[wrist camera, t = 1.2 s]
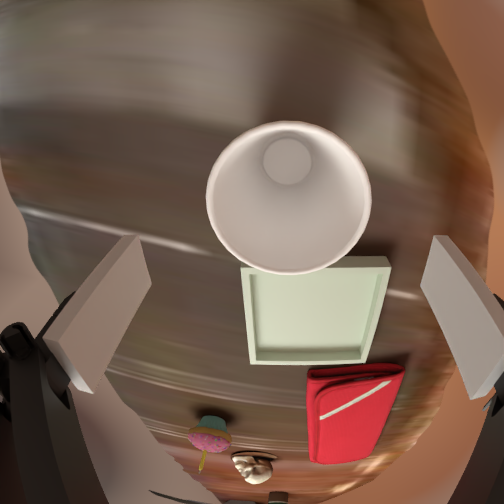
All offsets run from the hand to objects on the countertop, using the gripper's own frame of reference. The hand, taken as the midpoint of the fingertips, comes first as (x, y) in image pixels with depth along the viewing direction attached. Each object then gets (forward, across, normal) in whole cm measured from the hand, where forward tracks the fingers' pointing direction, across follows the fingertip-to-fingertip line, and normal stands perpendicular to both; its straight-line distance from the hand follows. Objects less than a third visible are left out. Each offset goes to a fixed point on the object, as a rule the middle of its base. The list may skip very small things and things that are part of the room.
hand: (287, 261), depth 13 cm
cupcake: (+17, -14, -49) cm, 53 cm away
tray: (+16, +3, -18) cm, 24 cm away
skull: (+17, -6, -72) cm, 74 cm away
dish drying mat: (+17, +13, -49) cm, 54 cm away
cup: (+17, 0, 0) cm, 17 cm away
